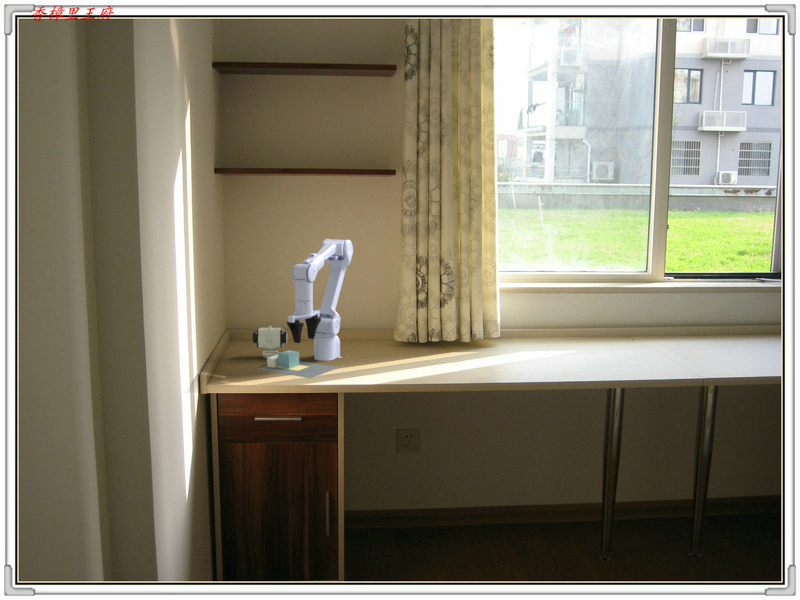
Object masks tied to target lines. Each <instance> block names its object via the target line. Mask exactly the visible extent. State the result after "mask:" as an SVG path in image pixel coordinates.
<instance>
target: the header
mask: <svg viewBox="0 0 800 600" xmlns="http://www.w3.org/2000/svg"><path fill="white" fill-rule="evenodd" d="M266 360H267V361H266V363H267V365H266V366H268V367H273V368H275V367H277V366H278V355H275V356H271V357H268V358H266Z"/></svg>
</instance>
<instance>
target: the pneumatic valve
mask: <svg viewBox="0 0 800 600" xmlns="http://www.w3.org/2000/svg"><path fill="white" fill-rule="evenodd" d="M288 337H289V336H288V331H285V329H284V327H272V325H268V327H258V328H257V329H256V331H255V330H254V331H253V333H252V344H255V345H256V348H265V350H263V351H262V358H265V359H267V358H268V357H271V356H275V355H278V353H279V351H278V350H277V348H283V347H284V345H285V344H286V345H287V344H288Z"/></svg>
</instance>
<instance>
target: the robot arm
mask: <svg viewBox="0 0 800 600" xmlns="http://www.w3.org/2000/svg"><path fill="white" fill-rule="evenodd" d="M353 253H354V246H353V243H352V241H351V240H350V239H333V238H332V239H331V238H326V239H324V240H323V241H322V244H321V248H320V249H319V250H318V252H317V253H313V252H312V253H310V254H309V256H308V257H307V258H306V259H304V260H303V261H302V262H301V263H296V264H295V265H294V266H293V267H292V270H291V277H292V281H293V287H294V292H295V294H294V296H295V297H294V298H295V300H294V301H295V304H294V305H295V307H294V308H295V309H294V310H295V312H293V314H291V315H287V321H286V325H287V326H288V329H289V330H290V332H291V335H292V340H293V343H294V344H301V342H302V331H303V327H304V326H305V325H304V324H306V330H307V333H306V334H307V338H308V339H311V340H313V360H315V361H320V362H321V361H322V362H327V361H333V360H335V359H337V358H339V359H340V358H343V357H342V356H341V340H340V337H339V336H338V334H339V332H340V328H341V319H342V318H341V316H340V314H339V313H338V312H337V311H336V309H337V305H338V301H339V297H340V294H341V290H342V286H343V282H344V278H345V274H346V270H347V267H348V266H350V264H351V261H352V258H353ZM325 261H326V264H328V266H330V267H331V270H330V273H329V277H328V280H327V285H326V288H325V292H324V295H323V299H322V302H321V306H320V307H319V308H318V309H315V310H314V304H313V303H314V301H313V300H314V294H313V293H314V291H313V290H314V289H313V287H314V281H315V280H316V278H317V275H318V272H319V271H321V269H323V267H324V265H325ZM303 320H305V323H304V322H300V321H303Z"/></svg>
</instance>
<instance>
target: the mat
mask: <svg viewBox="0 0 800 600" xmlns="http://www.w3.org/2000/svg"><path fill="white" fill-rule="evenodd" d="M336 369H337V370H338V369H340V367H338V366H334V365H333V366H331V365H328V364H327V365H325V364H319V363H314V362H307V361H301V360H299V366H296V367H293V368H290V369H288V368H282V367H278V366H277V367H275V368H273V367H268V366H267V365H264V366H261V367H257V370H263V371H268V372H274V373H278V374H284V375H290V376H296V377H300V378H301V377H302V378H306V379H312V378H315V377H317V376H321V375H323V374H326V373H329V372H331V371H334V370H336Z"/></svg>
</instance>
